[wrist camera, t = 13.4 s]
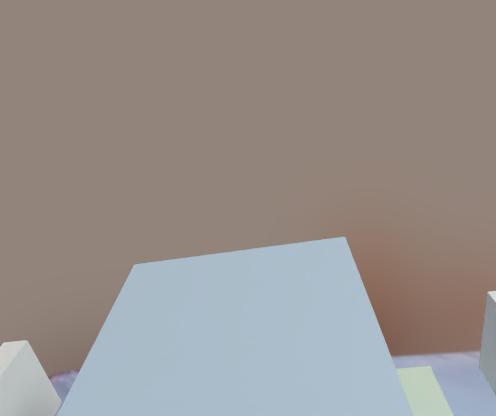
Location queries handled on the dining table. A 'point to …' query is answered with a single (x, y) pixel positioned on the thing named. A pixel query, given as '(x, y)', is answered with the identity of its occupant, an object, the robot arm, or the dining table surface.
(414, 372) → the top brick
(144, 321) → the tall brick
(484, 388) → the dining table surface
